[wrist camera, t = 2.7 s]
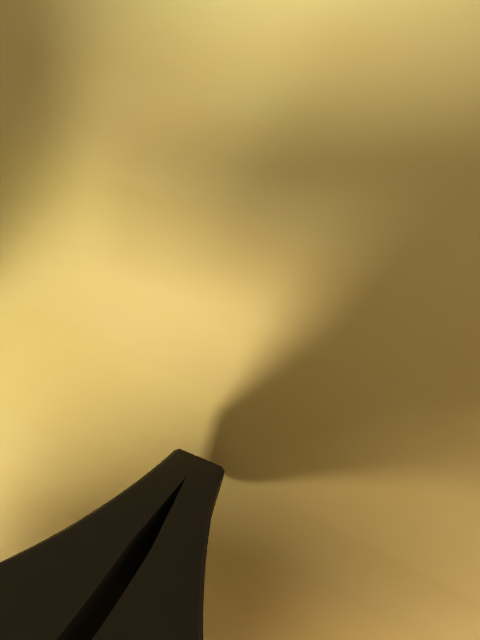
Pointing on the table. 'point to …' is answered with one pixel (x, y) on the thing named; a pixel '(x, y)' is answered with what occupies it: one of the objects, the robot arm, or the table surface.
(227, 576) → the table surface
